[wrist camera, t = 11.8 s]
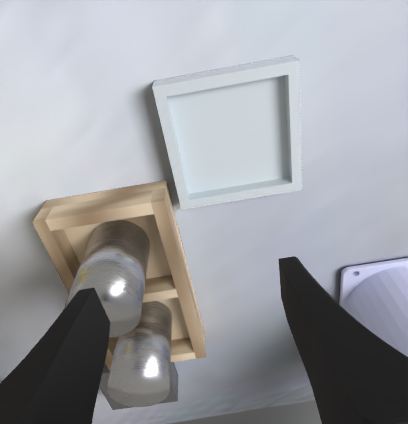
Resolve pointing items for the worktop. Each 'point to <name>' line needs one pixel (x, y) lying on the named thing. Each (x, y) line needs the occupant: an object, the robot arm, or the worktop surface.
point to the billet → (116, 272)
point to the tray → (233, 131)
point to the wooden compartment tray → (158, 255)
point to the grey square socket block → (115, 405)
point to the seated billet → (143, 359)
